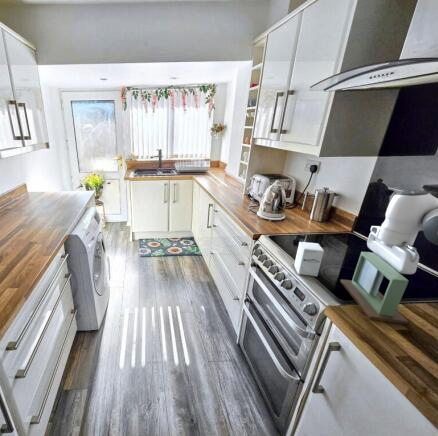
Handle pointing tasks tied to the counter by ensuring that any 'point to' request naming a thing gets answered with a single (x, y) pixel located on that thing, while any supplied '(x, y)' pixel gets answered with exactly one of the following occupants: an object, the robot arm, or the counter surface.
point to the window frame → (379, 304)
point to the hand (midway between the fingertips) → (383, 270)
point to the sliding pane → (377, 283)
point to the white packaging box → (308, 258)
